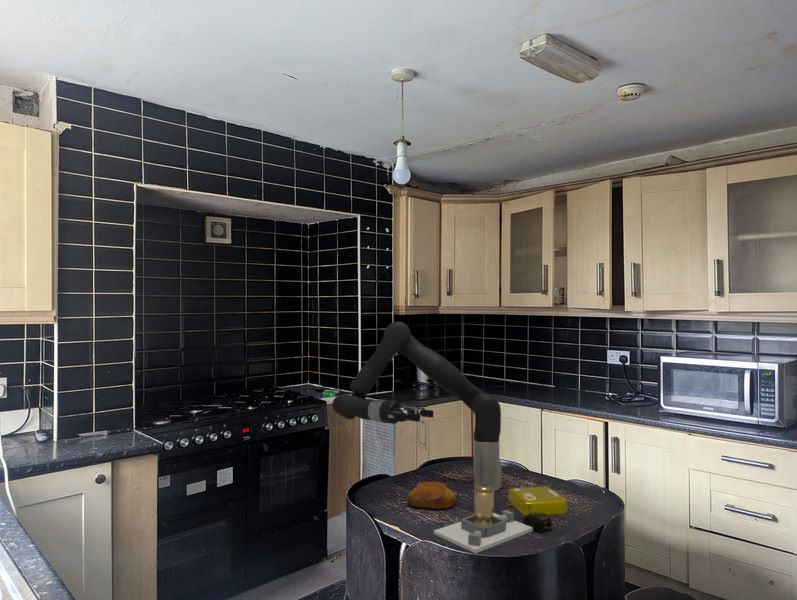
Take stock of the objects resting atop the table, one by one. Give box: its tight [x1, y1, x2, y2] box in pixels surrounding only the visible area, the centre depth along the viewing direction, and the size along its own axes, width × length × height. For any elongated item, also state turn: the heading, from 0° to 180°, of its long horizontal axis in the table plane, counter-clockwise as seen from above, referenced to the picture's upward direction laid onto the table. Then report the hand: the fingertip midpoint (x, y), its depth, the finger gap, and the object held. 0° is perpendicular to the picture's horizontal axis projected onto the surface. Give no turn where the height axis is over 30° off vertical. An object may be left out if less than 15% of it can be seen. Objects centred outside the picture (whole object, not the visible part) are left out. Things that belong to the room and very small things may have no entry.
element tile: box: [508, 486, 568, 517], centre depth 174 cm, size 15×15×5 cm
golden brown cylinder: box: [473, 484, 495, 527], centre depth 153 cm, size 6×6×12 cm
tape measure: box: [523, 512, 552, 532], centre depth 157 cm, size 7×7×4 cm
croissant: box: [406, 481, 457, 510], centre depth 178 cm, size 15×16×8 cm
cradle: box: [433, 509, 534, 554], centre depth 153 cm, size 24×16×4 cm, turn 128°
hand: (426, 416), depth 171 cm, fingers open, 8 cm apart
